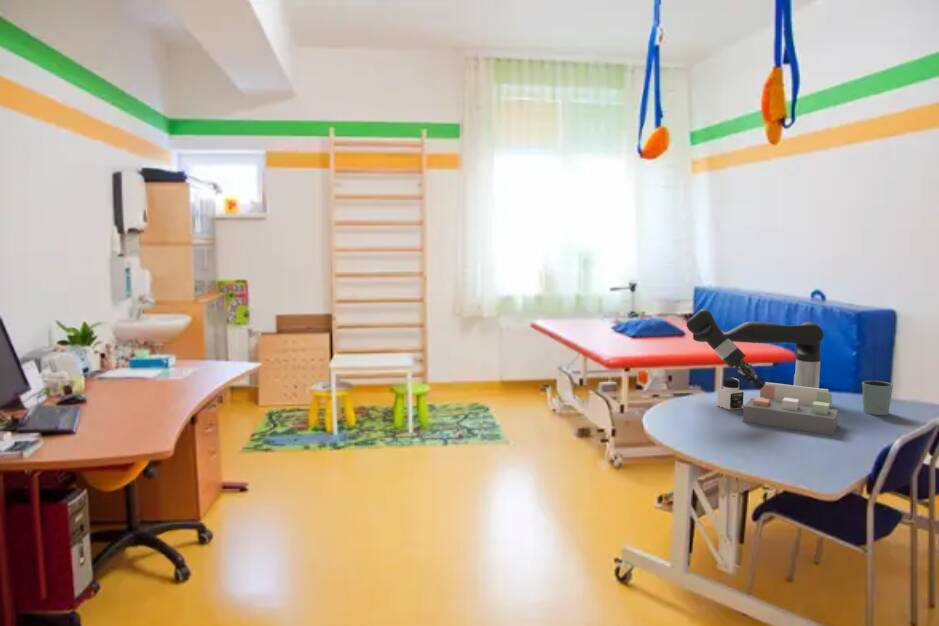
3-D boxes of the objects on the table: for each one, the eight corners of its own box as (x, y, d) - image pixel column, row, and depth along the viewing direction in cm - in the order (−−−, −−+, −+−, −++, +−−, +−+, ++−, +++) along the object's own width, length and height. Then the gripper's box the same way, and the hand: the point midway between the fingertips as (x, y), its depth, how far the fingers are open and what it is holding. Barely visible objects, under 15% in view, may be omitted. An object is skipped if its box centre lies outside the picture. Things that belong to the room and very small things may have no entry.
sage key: (811, 416, 236) (812, 404, 236) (813, 413, 240) (814, 401, 240) (827, 418, 233) (828, 406, 233) (828, 415, 238) (829, 403, 237)
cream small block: (781, 411, 242) (782, 400, 241) (783, 408, 246) (784, 397, 245) (796, 414, 239) (797, 402, 239) (798, 410, 243) (799, 399, 243)
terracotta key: (752, 412, 248) (753, 400, 247) (755, 409, 252) (756, 397, 251) (766, 414, 245) (767, 402, 244) (769, 411, 249) (770, 399, 248)
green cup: (893, 417, 251) (895, 387, 249) (863, 414, 254) (865, 385, 252) (886, 410, 260) (888, 381, 258) (857, 408, 263) (859, 379, 262)
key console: (742, 421, 246) (744, 390, 244) (753, 409, 261) (754, 380, 260) (832, 435, 229) (835, 402, 227) (838, 422, 245) (840, 391, 243)
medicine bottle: (730, 410, 261) (731, 381, 260) (716, 406, 268) (718, 377, 266) (743, 408, 264) (744, 379, 263) (729, 404, 270) (731, 375, 269)
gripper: (726, 356, 260) (758, 390, 254) (717, 362, 249) (750, 397, 244) (741, 344, 256) (773, 378, 251) (732, 349, 245) (766, 385, 240)
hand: (762, 387), depth 247 cm, fingers closed
